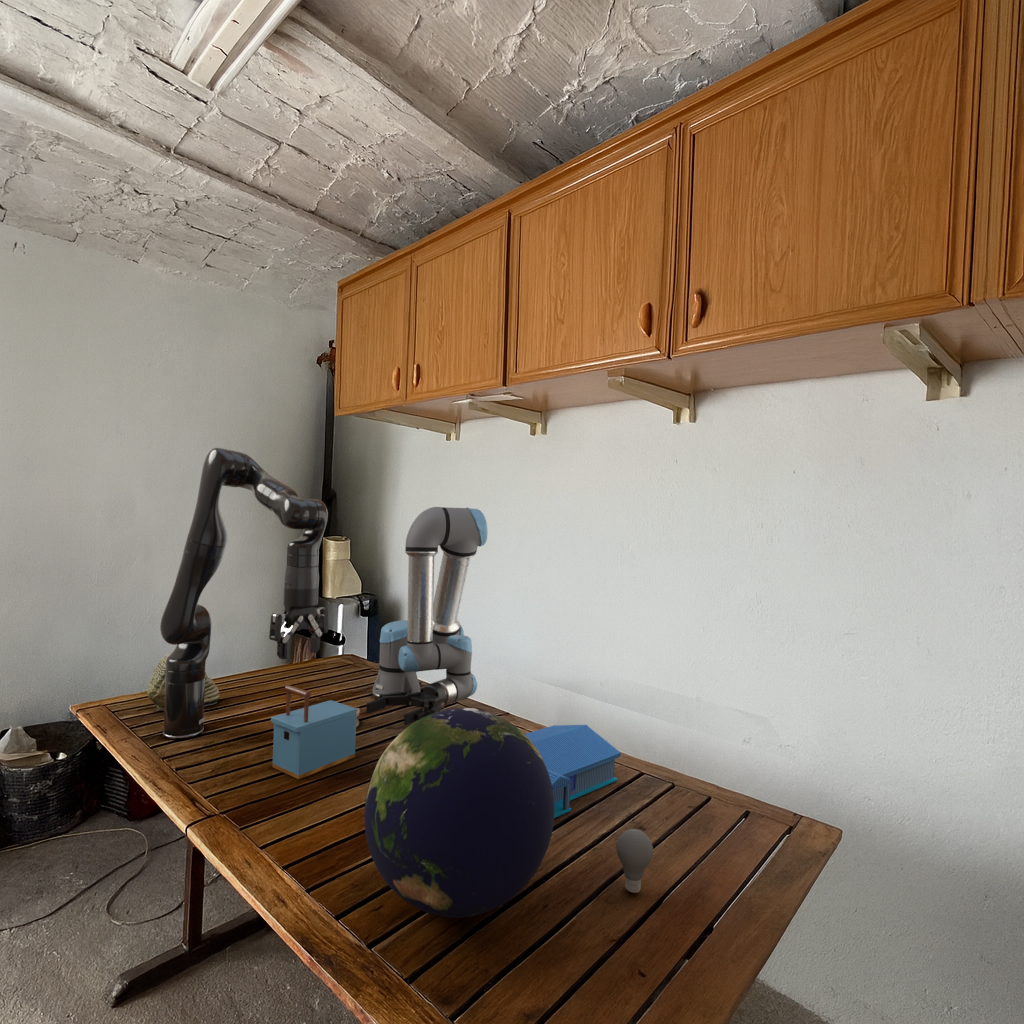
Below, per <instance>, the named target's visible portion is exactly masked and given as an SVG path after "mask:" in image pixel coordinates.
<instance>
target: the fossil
mask: <svg viewBox="0 0 1024 1024" xmlns="http://www.w3.org/2000/svg"><path fill="white" fill-rule="evenodd" d="M169 655H170V654H165V655H164V656H163V657H162V658H161V659H160V660H159V662H158V663H157V666H156V667H155V669H154V670H153V672H152V675H151V677H150V680H149V684H148V688H147V697H148V699H149V700H150V701H152V703H153V704H154V706H155V711H158V712H159V711H162V712H163V711H164V705H165V674H166V659H167V658H168V656H169ZM220 698H221V696H220V690H219V688H218V686H217V685H216V683H215V682H214V681H213V679H212V678H211V677H209V675H208V674H207V672H206V671H205V693H204V707H207V706H213V705H215V704H217V703H218V701H219V699H220Z"/></svg>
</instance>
